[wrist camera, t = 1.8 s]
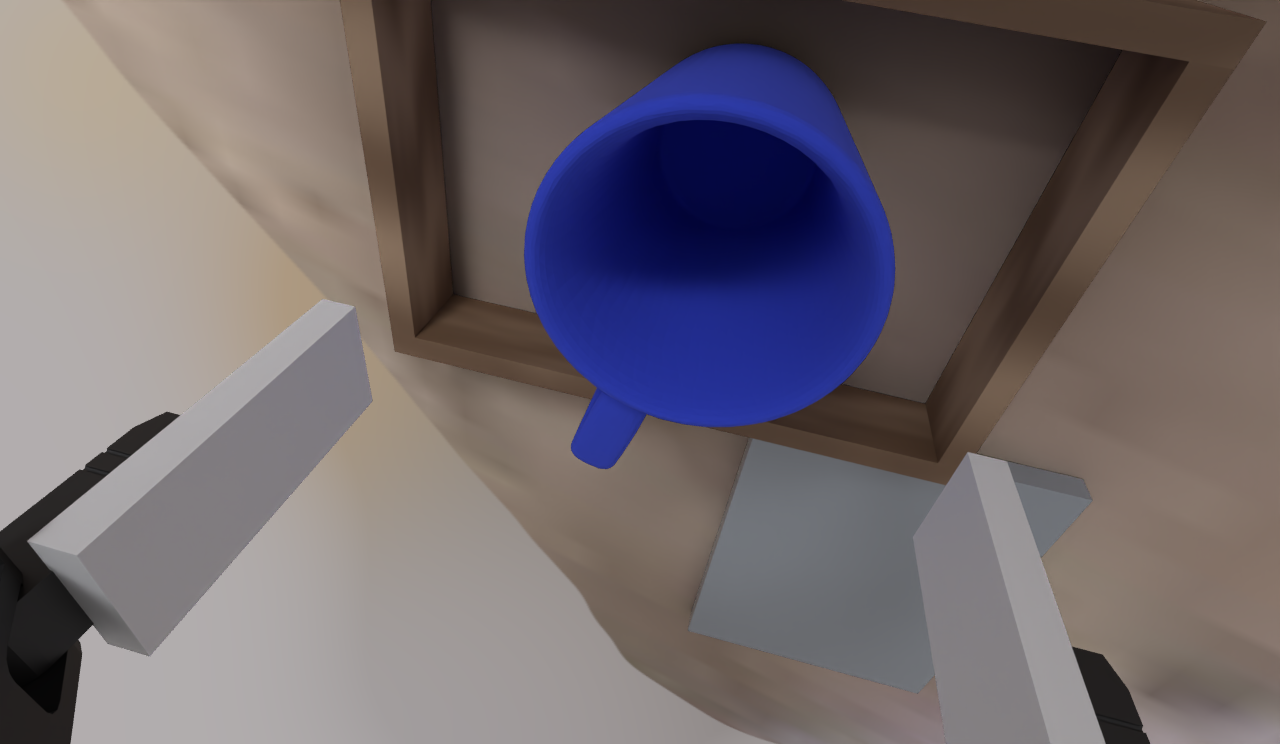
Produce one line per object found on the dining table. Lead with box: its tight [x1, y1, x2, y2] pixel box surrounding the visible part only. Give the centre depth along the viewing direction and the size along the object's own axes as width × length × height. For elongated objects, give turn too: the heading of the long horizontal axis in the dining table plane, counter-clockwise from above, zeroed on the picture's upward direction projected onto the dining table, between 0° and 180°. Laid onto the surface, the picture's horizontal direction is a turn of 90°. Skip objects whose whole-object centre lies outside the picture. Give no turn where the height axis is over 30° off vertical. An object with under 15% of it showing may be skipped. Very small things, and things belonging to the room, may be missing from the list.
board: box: [688, 438, 1093, 694], centre depth 33 cm, size 18×14×1 cm
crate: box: [340, 0, 1266, 485], centre depth 21 cm, size 16×23×4 cm
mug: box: [524, 43, 895, 469], centre depth 19 cm, size 8×12×10 cm
